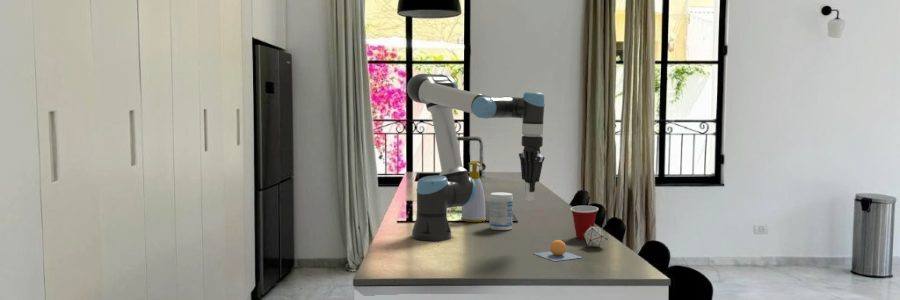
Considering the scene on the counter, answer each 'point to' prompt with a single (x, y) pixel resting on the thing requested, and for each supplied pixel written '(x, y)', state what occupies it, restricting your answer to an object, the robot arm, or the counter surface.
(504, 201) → the supplement tub
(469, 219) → the soap bottle
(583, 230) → the plastic cup
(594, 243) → the game die
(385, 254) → the counter surface
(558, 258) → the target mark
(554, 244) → the ball
